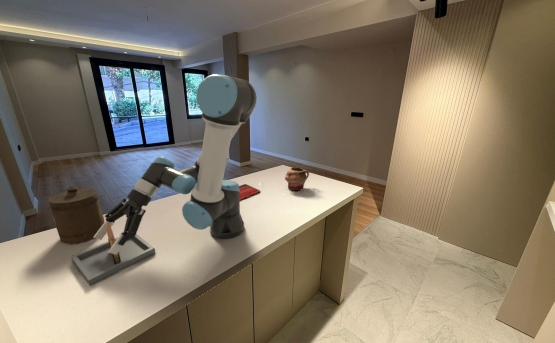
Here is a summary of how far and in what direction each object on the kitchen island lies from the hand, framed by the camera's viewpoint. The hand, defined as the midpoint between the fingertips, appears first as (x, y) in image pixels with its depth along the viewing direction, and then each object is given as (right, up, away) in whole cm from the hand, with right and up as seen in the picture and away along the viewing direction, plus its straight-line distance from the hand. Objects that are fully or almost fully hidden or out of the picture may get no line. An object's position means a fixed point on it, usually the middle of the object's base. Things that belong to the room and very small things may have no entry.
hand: (104, 245), depth 77 cm
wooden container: (-22, -1, +17) cm, 28 cm away
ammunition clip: (+1, -5, +4) cm, 7 cm away
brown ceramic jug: (+74, +14, +74) cm, 106 cm away
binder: (+38, +11, +63) cm, 75 cm away
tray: (+1, -6, +4) cm, 7 cm away
